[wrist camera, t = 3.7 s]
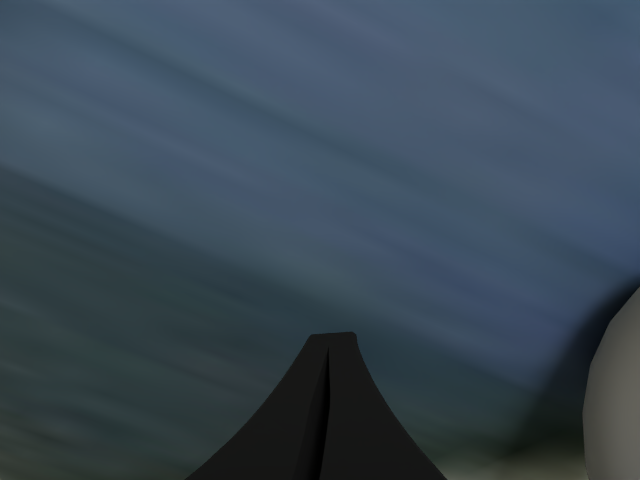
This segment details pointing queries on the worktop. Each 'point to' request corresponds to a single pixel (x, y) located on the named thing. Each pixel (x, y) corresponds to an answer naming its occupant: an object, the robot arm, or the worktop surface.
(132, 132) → the worktop surface
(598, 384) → the donut
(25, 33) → the worktop surface
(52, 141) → the worktop surface
